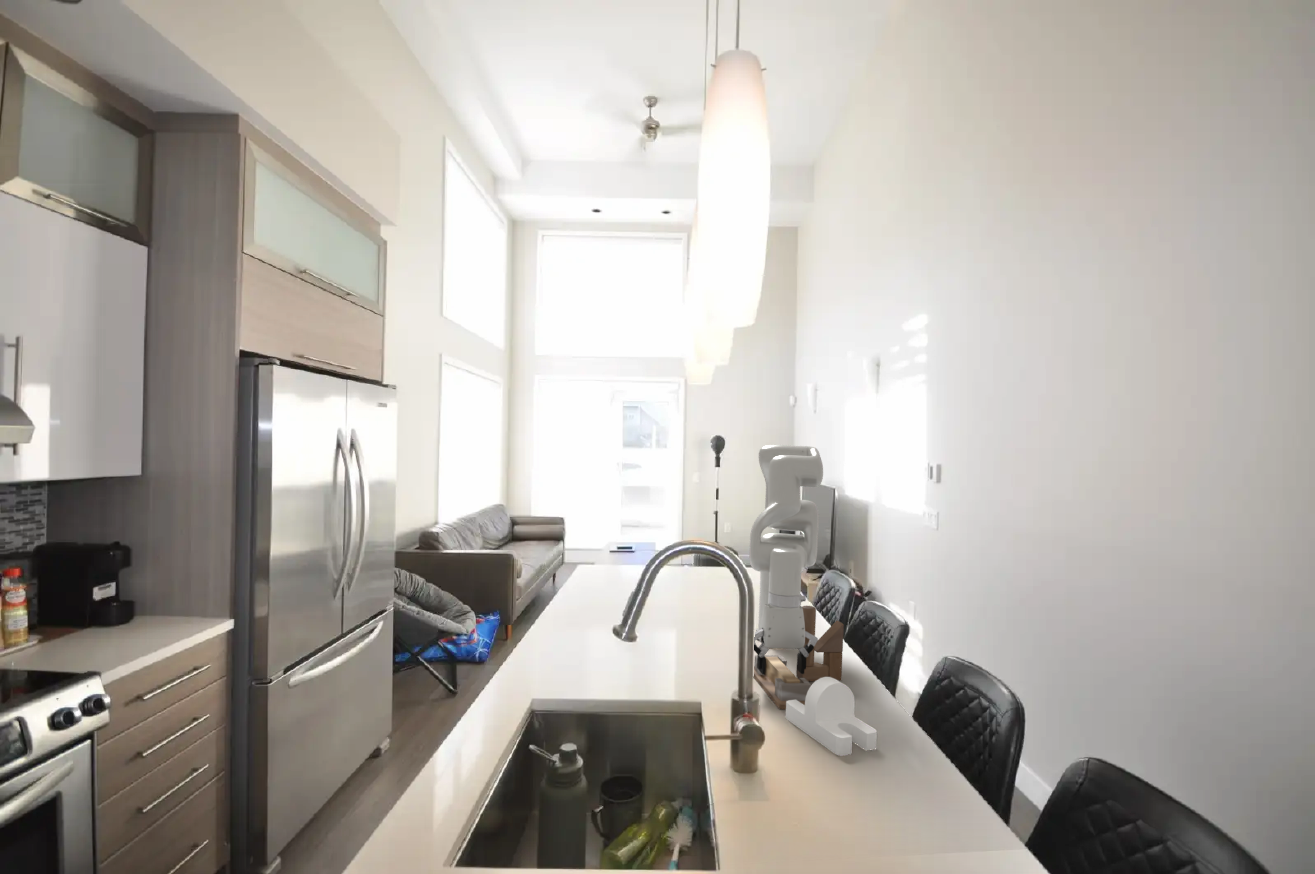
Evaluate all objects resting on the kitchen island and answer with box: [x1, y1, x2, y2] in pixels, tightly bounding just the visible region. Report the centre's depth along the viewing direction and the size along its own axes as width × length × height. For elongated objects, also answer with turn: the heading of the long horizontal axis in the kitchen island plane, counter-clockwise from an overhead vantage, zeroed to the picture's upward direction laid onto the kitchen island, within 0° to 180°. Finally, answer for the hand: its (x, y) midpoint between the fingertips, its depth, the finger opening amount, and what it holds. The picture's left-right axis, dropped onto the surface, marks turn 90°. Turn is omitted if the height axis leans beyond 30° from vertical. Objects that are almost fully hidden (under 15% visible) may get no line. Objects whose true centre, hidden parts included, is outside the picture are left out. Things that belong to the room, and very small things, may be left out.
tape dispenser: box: [785, 677, 878, 757], centre depth 126 cm, size 10×18×11 cm, turn 23°
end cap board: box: [753, 654, 812, 710], centre depth 149 cm, size 24×9×4 cm, turn 8°
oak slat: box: [765, 657, 800, 685], centre depth 148 cm, size 16×3×4 cm, turn 8°
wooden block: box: [795, 605, 844, 682], centre depth 157 cm, size 4×11×18 cm, turn 102°
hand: (781, 672), depth 149 cm, fingers open, 9 cm apart
